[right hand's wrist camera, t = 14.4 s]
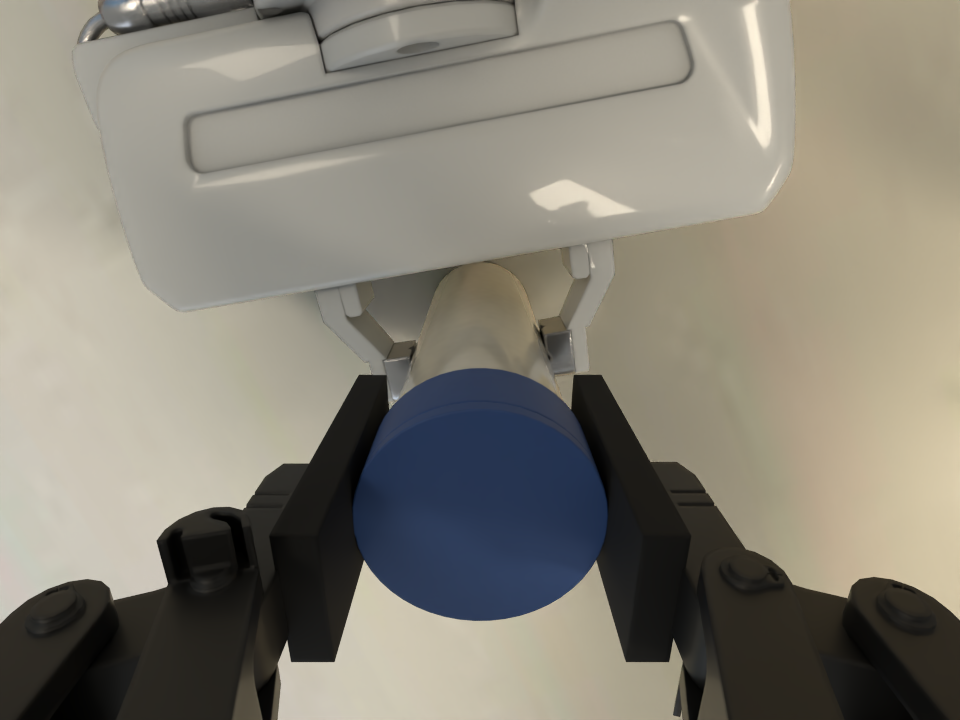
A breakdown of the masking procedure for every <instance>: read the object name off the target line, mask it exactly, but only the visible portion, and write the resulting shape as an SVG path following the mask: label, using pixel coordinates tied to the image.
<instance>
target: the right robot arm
mask: <svg viewBox="0 0 960 720" xmlns="http://www.w3.org/2000/svg"><path fill="white" fill-rule="evenodd" d="M571 411H572V412H573V413H574V415H575V417H576V418H577V420H578V422H579V423H580V425H581V428H582V430H583V433H584V435H585V438H586V440H587V443H588V445H589V448H590V451H591V453H592V456H593V459H594V461H595V464H596V467H597V469H598V472H599V475H600V477H601V480H602V483H603V485H604V489H605V493H606V497H607V502H608V520H607V530H606V536H605V540H604V544H603V546H602V548H601V551H600V553H599V556H598V557H597V559H596V560H597V564H598V567H599V571H600V574H601V578H602V581H603V584H604V588H605V591H606V595H607V598H608V602H609V605H610V609H611V612H612V616H613V619H614V622H615V626H616V629H617V633H618V636H619V640H620V643H621V647H622V650H623V653H624V657H625V660H626V662H669V660H670V654H671V648H672V643H673V638H674V640H675V643H676V645H677V648H678V650H679V653H680V655H681V658H682V660H683V664H682V669H681V674H680V680H679V685H678V690H677V695H676V701H675V707H674V713H673V715H674V716H678V717H680V715H681V710H682V717H683V720H960V620H959V619H958V618H957V617H956V616H955V615H954V614H953V613H952V612H951V611H949V610H948V609H947V608H946V607H944V606H943V605H942V604H941V603H939V602H938V601H937V600H936V599H934V598H933V597H931V596H929V595H927V594H925V593H924V592H922V591H920V590H918V589H916V588H914V587H912V586H909V585H906V584H903V583H901V582H898V581H895V580H891V579H884V578H877V577H871V578H864V579H859V580H858V581H857V582H856V583H855V584H853V585H852V587H851V590H850V593H849V596H848V598H844V597H839V596H835V595H831V594H826V593H822V592H818V591H813V590H809V589H805V588H802V587H799V586H795V585H792V583H791V581H790V579H789V578H788V576H787V575H786V573H785V572H784V571H783V570H782V569H781V568H780V567H778V566H777V565H776V564H775V563H774V562H772V561H771V560H770V559H768V558H766V557H764V556H762V555H760V554H758V553H756V552H753V551H749V550H746V549H745V548H744V546H743V545H742V543H741V542H740V540H739V539H738V537H737V536H736V534H735V533H734V531H733V530H732V528H731V527H730V526H729V524H728V523H727V521H726V520H725V518H724V517H723V515H722V514H721V512H720V511H719V509H718V508H717V506H714V502H713V501H712V499H711V498H710V496H709V495H708V493H706V490H705V489H704V487H703V486H702V484H701V483H700V481H699V480H698V479H697V477H696V476H695V475H694V474H693V473H692V472H690V471H689V470H687V469H686V468H685V467H683V466H682V465H680V464H679V463H678V462H650V461H649V459H648V457H647V455H646V454H645V452H644V450H643V448H642V447H641V445H640V443H639V441H638V439H637V438H636V436H635V434H634V432H633V431H632V429H631V427H630V425H629V423H628V422H627V420H626V418H625V416H624V414H623V413H622V411H621V409H620V407H619V406H618V404H617V402H616V400H615V398H614V397H613V395H612V393H611V391H610V390H609V388H608V386H607V384H606V382H605V381H604V379H603V377H602V375H574V378H573V392H572V406H571ZM388 412H389V402H388V387H387V375H359V376H358V378H357V379H356V381H355V383H354V385H353V387H352V388H351V390H350V392H349V394H348V395H347V397H346V399H345V401H344V403H343V404H342V406H341V408H340V410H339V412H338V413H337V415H336V417H335V419H334V420H333V422H332V424H331V426H330V428H329V429H328V431H327V433H326V435H325V436H324V438H323V440H322V442H321V444H320V445H319V447H318V449H317V451H316V453H315V454H314V456H313V458H312V460H311V461H310V463H309V464H282V465H281V466H280V467H278V468H277V469H276V470H274V471H273V472H271V473H270V474H269V475H267V476H266V477H265V478H264V480H263V481H262V483H261V484H260V486H259V487H258V489H257V490H256V491H255V495H253V496H252V497H251V499H250V500H249V502H248V503H247V506H246V508H244V509H243V511H242V510H240V509H236V508H232V507H214V508H209V509H205V510H201V511H197V512H194V513H192V514H190V515H188V516H185V517H183V518H181V519H179V520H177V521H176V522H175V523H173V524H172V525H171V526H169V527H168V528H167V529H165V530H164V532H163V533H162V534H161V536H160V537H159V538H158V540H157V545H158V548H159V552H160V556H161V559H162V563H163V567H164V570H165V574H166V578H167V581H168V586H167V587H166V588H162V589H159V590H156V591H152V592H148V593H143V594H139V595H135V596H130V597H126V598H122V599H117V600H113V598H112V595H111V591H110V588H109V587H108V586H106V585H105V584H104V583H103V582H102V581H96V580H89V579H85V580H78V581H71V582H67V583H64V584H61V585H58V586H55V587H53V588H50V589H47V590H45V591H44V592H42V593H40V594H38V595H36V596H34V597H33V598H31V599H29V600H27V601H26V602H25V603H24V604H22V605H21V606H20V607H19V608H17V609H16V610H15V611H14V612H12V613H11V614H10V615H9V616H8V617H7V618H6V619H5V620H4V621H3V622H2V623H1V624H0V720H277V719H278V708H279V698H280V687H281V682H280V675H279V669H278V661H279V659H280V656H281V654H282V651H283V649H284V646H285V644H286V641H288V646H289V652H290V658H291V662H335V658H336V655H337V651H338V648H339V644H340V641H341V637H342V634H343V630H344V627H345V624H346V620H347V617H348V613H349V610H350V606H351V603H352V599H353V596H354V592H355V589H356V586H357V582H358V579H359V575H360V572H361V568H362V565H363V561H364V559H363V556H362V554H361V552H360V550H359V548H358V545H357V542H356V538H355V535H354V526H353V516H352V504H353V499H354V493H355V489H356V487H357V484H358V481H359V478H360V476H361V473H362V470H363V468H364V465H365V463H366V460H367V457H368V455H369V452H370V449H371V447H372V444H373V441H374V439H375V436H376V434H377V431H378V428H379V426H380V424H381V423H382V421H383V419H384V417H385V416H386V414H387V413H388Z"/></svg>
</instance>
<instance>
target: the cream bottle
mask: <svg viewBox="0 0 960 720" xmlns="http://www.w3.org/2000/svg"><path fill="white" fill-rule="evenodd" d="M469 368H490V369H500V370H505V371H509V372H513V373H517V374H520V375H522V376H525V377H528V378H530V379H532V380H534V381H536V382H538V383H540V384H542V385H544V386H545V387H546V388H548V389H549V390H551V391H552V392H554V393H555V394H556V395H557V396H558V397H559V398H560V399H561V400H562V401H563V398H562V395H561V393H560V390H559V387H558V384H557V381H556V378H555V375H554V372H553V369H552V366H551V363H550V361H549V358H548V355H547V352H546V349H545V346H544V343H543V340H542V337H541V334H540V331H539V329H538V326H537V323H536V320H535V317H534V314H533V311H532V308H531V305H530V302H529V299H528V296H527V294H526V291H525V289H524V287H523V285H522V284H521V282H520V281H519V280H518V279H517V278H516V277H515V276H514V275H513V274H512V273H511V272H510V271H508V270H507V269H505V268H503V267H501V266H499V265H496V264H492V263H487V262H477V263H471V264H465V265H462V266H460V267H457V268H456V269H454V270H452V271H451V272H450V273H449V274H447V275H446V276H445V277H444V278H443V279H442V281H441V282H440V283H439V285H438V287H437V289H436V290H435V293H434V296H433V299H432V302H431V305H430V307H429V310H428V313H427V316H426V319H425V322H424V325H423V328H422V331H421V333H420V336H419V339H418V342H417V345H416V348H415V351H414V354H413V357H412V360H411V362H410V365H409V368H408V371H407V374H406V377H405V380H404V383H403V386H402V388H401V391H400V394H399V397H398V400H399V399H400V398H401V397H402V396H403V395H404V394H406V393H407V392H408V391H410V390H411V389H412V388H414V387H415V386H417V385H419V384H421V383H422V382H424V381H426V380H428V379H430V378H433V377H435V376H438V375H440V374H444V373H447V372H451V371H455V370H461V369H469ZM398 400H397V401H398Z"/></svg>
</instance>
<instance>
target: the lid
mask: <svg viewBox="0 0 960 720" xmlns="http://www.w3.org/2000/svg"><path fill="white" fill-rule="evenodd" d="M352 516H353V526H354V535H355V538H356V542H357V545H358V548H359V550H360V552H361V554H362V556H363V559H364V560H365V562H366V563H367V565H368V566H369V568H370V570H371V571H372V572H373V573H374V574H375V576H376V577H377V578H378V579H379V580H380V581H381V582H382V583H383V584H384V585H385V586H386V587H387V588H388V589H389V590H390V591H392V592H393V593H395V594H396V595H397V596H399V597H400V598H402V599H403V600H405V601H407V602H409V603H410V604H412V605H414V606H416V607H418V608H421V609H423V610H425V611H428V612H430V613H434V614H437V615H441V616H444V617H449V618H454V619H460V620H472V621H490V620H499V619H507V618H511V617H516V616H520V615H523V614H527V613H530V612H533V611H535V610H538V609H540V608H542V607H544V606H547V605H549V604H550V603H552V602H554V601H555V600H557V599H559V598H561V597H562V596H563V595H565V594H566V593H567V592H569V591H570V590H571V589H572V588H573V587H575V586H576V585H577V584H578V583H579V582H580V581H581V580H582V579H583V578H584V576H585V575H586V574H587V573H588V571H589V570H590V569H591V567H592V566H593V564H594V562H595V561H596V559H597V557H598V556H599V553H600V551H601V548H602V546H603V544H604V540H605V536H606V530H607V520H608V502H607V497H606V493H605V489H604V485H603V483H602V480H601V477H600V475H599V472H598V469H597V467H596V464H595V461H594V459H593V456H592V453H591V451H590V448H589V445H588V443H587V440H586V438H585V435H584V433H583V430H582V428H581V425H580V423H579V422H578V420H577V418H576V417H575V415H574V413H573V412H572V411H571V410H570V408H569V407H568V406H567V405H566V404H565V402H564V401H562V400H561V399H560V398H559V397H558V396H557V395H556V394H555V393H554V392H552V391H551V390H549V389H548V388H546V387H545V386H544V385H542V384H540V383H538V382H536V381H534V380H532V379H530V378H528V377H525V376H522V375H520V374H517V373H513V372H509V371H505V370H500V369H490V368H469V369H461V370H455V371H451V372H447V373H444V374H440V375H438V376H435V377H433V378H430V379H428V380H426V381H424V382H422V383H421V384H419V385H417V386H415V387H414V388H412V389H411V390H410V391H408V392H407V393H406V394H404V395H403V396H402V397H401V398H400V399H399V400H398V401H397V402H396V403H395V404H394V405H393V406H392V408H391V409H390V410H389V412H388V413H387V414H386V416H385V417H384V419H383V421H382V423H381V424H380V426H379V428H378V431H377V434H376V436H375V439H374V441H373V444H372V447H371V449H370V452H369V455H368V457H367V460H366V463H365V465H364V468H363V470H362V473H361V476H360V478H359V481H358V484H357V487H356V489H355V493H354V499H353V504H352Z"/></svg>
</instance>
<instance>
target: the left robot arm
mask: <svg viewBox="0 0 960 720" xmlns="http://www.w3.org/2000/svg"><path fill="white" fill-rule="evenodd" d="M98 8H99V12H98V13H97V14H95V15H94V16H93V17H92V18H90V19H89V20H88V21H87V23H86V24H85V25H84V27H83V29H82V30H81V32H80V35H79V38H78V41H77V45H76V46H75V47H74V48H73V51H72V61H73V67H74V71H75V75H76V78H77V81H78V83H79V86H80V88H81V91H82V93H83V96H84V98H85V101H86V103H87V106H88V108H89V111H90V113H91V116H92V119H93V121H94V123H95V125H96V127H97V128H98V130H99V132H100V138H101V143H102V148H103V152H104V157H105V161H106V166H107V170H108V175H109V179H110V183H111V187H112V191H113V194H114V198H115V202H116V205H117V209H118V212H119V216H120V219H121V223H122V226H123V229H124V233H125V236H126V239H127V243H128V246H129V249H130V252H131V255H132V258H133V261H134V263H135V266H136V269H137V271H138V274H139V276H140V278H141V281H142V282H143V284H144V286H145V287H146V288H147V289H148V290H149V291H151V292H152V293H153V294H154V295H156V296H157V297H158V298H160V299H161V300H162V301H163V302H165V303H166V304H167V305H169V306H170V307H172V308H173V309H175V310H176V311H179V312H191V311H197V310H203V309H209V308H215V307H221V306H226V305H232V304H238V303H244V302H250V301H256V300H261V299H267V298H273V297H279V296H285V295H290V294H296V293H302V292H308V291H315V294H316V298H317V301H318V305H319V308H320V312H321V315H322V318H323V322H324V323H325V324H326V325H327V326H328V327H329V328H330V329H331V330H332V331H333V332H334V333H335V334H336V335H337V336H338V337H339V338H340V339H341V340H342V341H343V342H344V343H345V344H346V345H347V346H348V347H349V348H350V349H351V350H353V351H354V352H355V353H356V354H357V355H358V356H359V357H360V358H361V359H362V360H363V361H364V362H365V363H367V362H369V365H370V369H371V373H372V375H387V387H388V402H389V403H393V402H397V400H398V397H399V394H400V391H401V388H402V386H403V383H404V380H405V377H406V374H407V371H408V368H409V365H410V362H411V360H412V357H413V354H414V351H415V348H416V341H415V340H413V341H405V342H398V343H394V341H393V340H392V339H391V338H390V337H389V335H388V334H387V333H386V332H385V331H384V330H383V329H382V328H381V326H380V325H379V324H378V323H377V322H376V321H375V320H374V319H373V317H372V316H371V315H370V314H369V313H368V312H367V311H366V310H365V309H366V307H367V306H368V305H369V303H370V302H371V301H372V299H373V298H374V293H373V289H372V284H371V281H372V280H378V279H384V278H389V277H395V276H401V275H407V274H413V273H418V272H424V271H430V270H436V269H442V268H448V267H453V266H459V265H465V264H471V263H477V262H482V261H488V260H494V259H500V258H506V257H512V256H517V255H523V254H529V253H535V252H541V251H546V250H552V249H558V248H561V254H562V261H563V265H564V267H565V268H566V269H567V271H568V272H569V273H570V274H571V276H572V277H573V278H574V281H573V283H572V285H571V288H570V290H569V293H568V295H567V297H566V300H565V302H564V305H563V307H562V309H561V312H560V314H559V315H560V316H557V317H552V318H546V319H541V320H538V323H539V331H540V334H541V337H542V340H543V343H544V346H545V349H546V352H547V355H548V358H549V361H550V363H551V366H552V369H553V372H554V375H555V377H556V376H563V375H570V374H576V373H582V372H589V366H590V364H589V354H588V345H587V335H586V327H589V326H590V324H591V322H592V320H593V318H594V316H595V314H596V312H597V310H598V308H599V306H600V304H601V302H602V300H603V297H604V295H605V293H606V291H607V289H608V287H609V285H610V283H611V281H612V279H613V277H614V275H615V268H614V254H613V241H612V239H616V238H622V237H628V236H634V235H640V234H645V233H651V232H657V231H663V230H669V229H674V228H680V227H686V226H692V225H698V224H704V223H709V222H715V221H721V220H727V219H733V218H738V217H744V216H750V215H755V214H758V213H761V212H763V211H764V210H765V209H766V208H767V207H768V205H769V204H770V203H771V202H772V200H773V199H774V198H775V196H776V195H777V193H778V192H779V190H780V189H781V187H782V186H783V184H784V183H785V181H786V180H787V178H788V177H789V175H790V172H791V170H792V165H793V159H794V149H795V128H796V82H795V58H794V41H793V27H792V15H791V5H790V0H98ZM108 28H109V29H110V30H111V31H112V32H113V33H115V34H117V36H112V37H107V38H102V39H99V37H100V36H101V34H102V33H103V32H104V31H105V30H107V29H108Z"/></svg>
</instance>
